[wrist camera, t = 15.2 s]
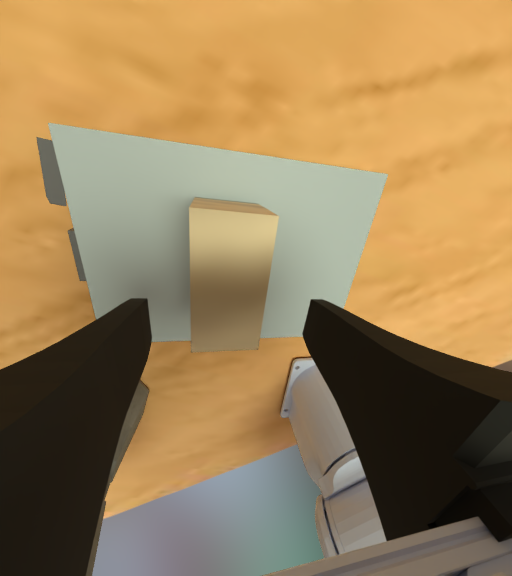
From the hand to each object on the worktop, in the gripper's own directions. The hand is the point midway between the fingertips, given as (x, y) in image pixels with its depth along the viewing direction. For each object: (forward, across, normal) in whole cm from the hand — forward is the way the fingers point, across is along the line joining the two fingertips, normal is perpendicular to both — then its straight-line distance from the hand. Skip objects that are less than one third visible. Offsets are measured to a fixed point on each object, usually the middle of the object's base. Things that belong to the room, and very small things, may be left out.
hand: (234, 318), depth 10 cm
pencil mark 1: (+8, +10, -5) cm, 14 cm away
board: (+8, -1, 0) cm, 9 cm away
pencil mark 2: (+8, +9, 0) cm, 12 cm away
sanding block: (+7, 0, 0) cm, 7 cm away
